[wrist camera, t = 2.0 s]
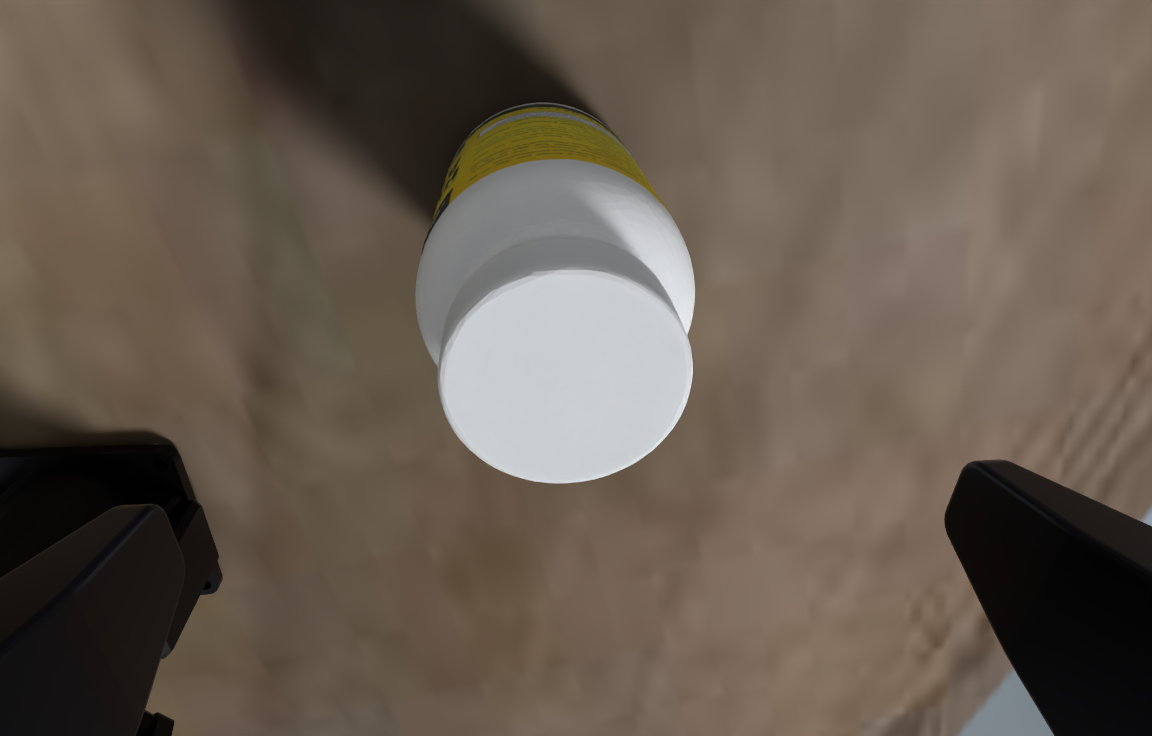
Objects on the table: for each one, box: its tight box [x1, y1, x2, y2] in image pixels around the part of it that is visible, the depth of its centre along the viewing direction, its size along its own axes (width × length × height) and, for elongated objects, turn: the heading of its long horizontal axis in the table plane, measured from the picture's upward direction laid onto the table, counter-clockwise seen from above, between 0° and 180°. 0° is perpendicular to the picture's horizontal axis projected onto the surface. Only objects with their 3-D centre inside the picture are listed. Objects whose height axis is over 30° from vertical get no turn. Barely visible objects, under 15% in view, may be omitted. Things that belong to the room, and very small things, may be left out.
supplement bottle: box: [415, 102, 695, 483], centre depth 14 cm, size 5×5×10 cm
